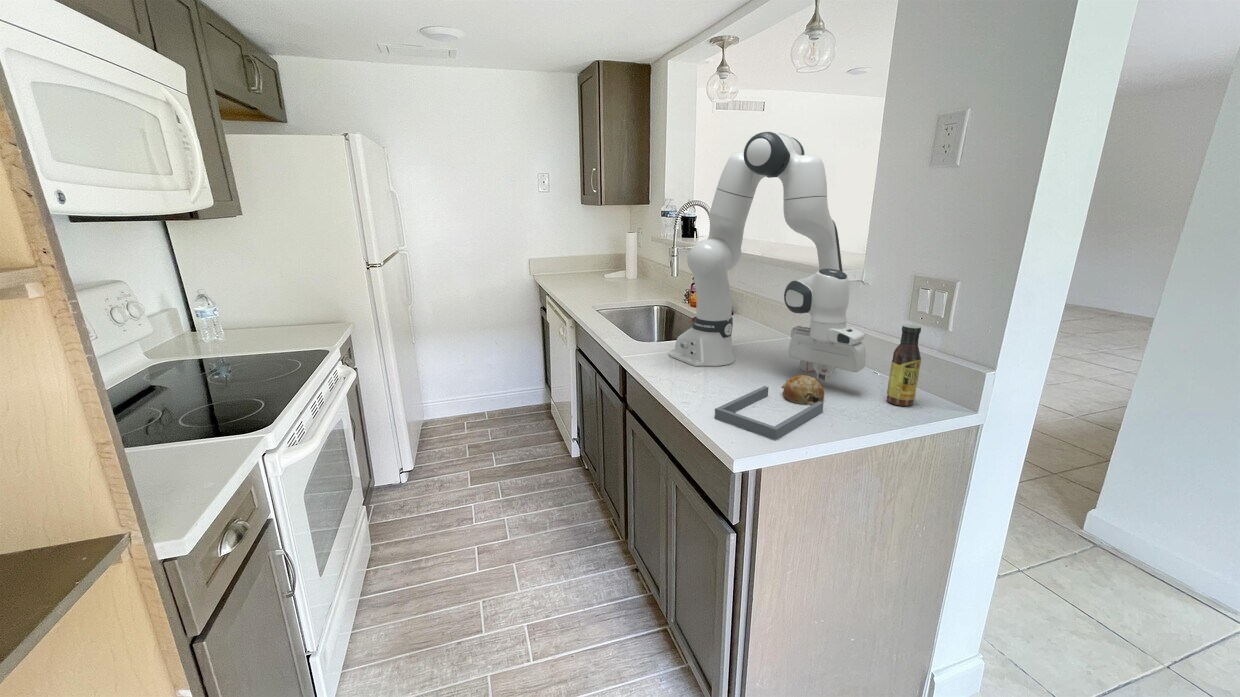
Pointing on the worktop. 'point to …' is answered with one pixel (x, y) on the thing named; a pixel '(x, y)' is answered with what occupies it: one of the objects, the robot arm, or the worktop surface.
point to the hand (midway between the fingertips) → (822, 379)
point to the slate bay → (761, 428)
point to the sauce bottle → (905, 368)
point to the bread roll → (803, 390)
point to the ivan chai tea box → (810, 366)
